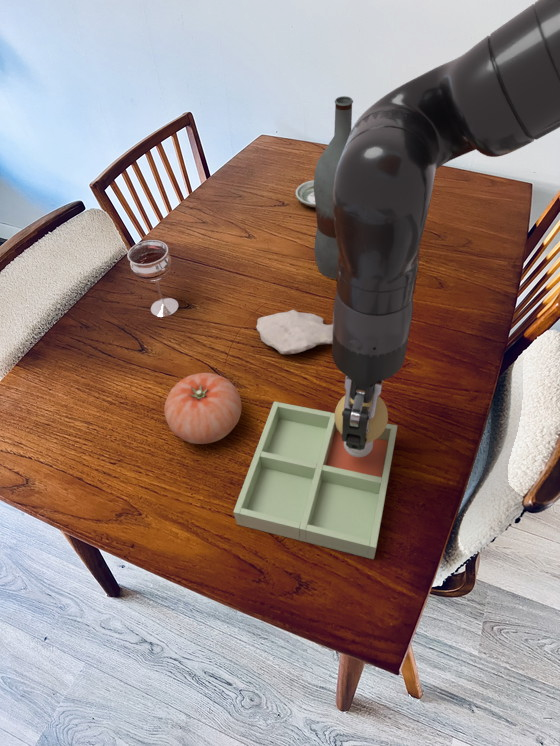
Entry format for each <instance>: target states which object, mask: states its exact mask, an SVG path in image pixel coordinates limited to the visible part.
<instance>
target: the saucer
mask: <svg viewBox="0 0 560 746" xmlns="http://www.w3.org/2000/svg"><path fill="white" fill-rule="evenodd" d="M313 185H314V179H312V180H308V181H305V182H303V183H301V184H300V185H298V187H296V190H295V197H296V200H298V201H299V202H300V203H302V204H303V205H305V206H308V207H310V208H311V207H312V208H316V205H315V196H314V189H313Z"/></svg>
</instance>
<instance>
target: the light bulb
mask: <svg viewBox="0 0 560 746" xmlns="http://www.w3.org/2000/svg"><path fill="white" fill-rule="evenodd" d="M372 398H373V397H372ZM344 403H345V395H343V396H342V398H341V399H339V401H338V403H337V405H336V407H335V410H334V413H335V415H334V417H335V424H336V427H337V429H338V430H339V432H340V433H341V434H342V426H343V416H342V412H343V411H344ZM351 403H352V404H353V403H354V400H352V399H351ZM371 405H372V400H371V401H370V402H369V403H363V406H365V407H370V406H371ZM388 421H389V412H388V408H387V404H386V403H385V402H384V400H383V399H382V398H381V397H380V395H379V396H378V400H377V406H376V411H375V415H374V417H373V418H372V419H370V420H369V426H368V428H369V433H368V432H367V436H366V438H367V441H366V444H365V448H364V449H363V450H356V449H351V448H348V446H346V442H344V448H345V450H346V451H347V453H349V454H350V455H352V456H354V457H364V456H366V455H368V454H369V453H370V452H371V450H372V448H373V441H374V440H375V439H377V438H378V437H379V436H380V435H381V434H382V433H383V432H384V430H385V428H386V425H387V424H388Z"/></svg>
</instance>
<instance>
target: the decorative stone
mask: <svg viewBox="0 0 560 746" xmlns="http://www.w3.org/2000/svg"><path fill="white" fill-rule="evenodd" d="M255 329H256V330H257V332H258V333H259V336H260V341H261V342H263V343H264V345H267V346H269V347H271V348H274V349H275V350H277V352H278V353H280V355H293V354H294V355H295V354H299V353H301V352H305V351H307V350H311V349H314V348H315V347H316V346H322V345H332V339H333V323H332V324H326V323H324V318H323V317H321V316H319V315H316V314H315V313H310V312H299V311H297V310H295V309H291V310H289V311H284V312H276V313H274V314H269V315H264V316H262V317H261V316H260V317H258V318H257V323H256V326H255Z"/></svg>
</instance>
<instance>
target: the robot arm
mask: <svg viewBox="0 0 560 746" xmlns="http://www.w3.org/2000/svg"><path fill="white" fill-rule="evenodd" d="M559 128H560V0H537V1H535V2H534V3H532V4H531V5H530V6H528V7H526V8H525V9H523V10H522V11H520V12H519V13H518V14H516V15H515V16H514V17H512V18H511V19H509V20H508V21H506V22H505V23H504V24H502V25H501V26H499V27H498V28H497V29H495V30H494V31H492V32H491V33H490V35H487V36H486V37H484V38H483V39H482V40H480V41H479V42H478V43H476V44H475V45H474V46H472V47H471V48H470V49H469V50H468V51H466V52H464V53H463V54H461V55H460V56H458V57H456V58H454V59H452V60H450V61H448V62H445V63H443V64H441V65H437V66H436V67H434V68H432V69H430V70H429V71H427V72H424V73H422V74H421V75H419V76H417V77H414V78H413V79H411V80H409V81H407V82H406V83H403V84H402V85H400V86H398V87H396V88H394V89H393V90H391V91H389V92H387V93H386V94H385V95H383V96H382V97H381V98H379V99H378V100H377V101H376V102H374V103H373V104H372V105H371V106H370V107H368V108H367V109H366V110H365V111H364V112H363V113H361V116H359V117H358V118H357V120H356V121H355V123H354V124H353V125H352V127H351V132H350V135H349V137H348V140H347V143H346V145H345V148H344V150H343V152H342V155H341V157H340V160H339V163H338V165H337V169H336V173H335V178H334V186H333V219H334V227H335V233H336V240H337V246H338V249H339V253H338V263H337V279H336V290H335V296H334V301H333V306H332V307H333V309H332V324H333V339H332V344H331V345H332V346H331V356H332V361H333V363H334V365H335V367H336V368H337V369H338V370H339V371H340V372H341V373H342V374H343V375H344V376H345V379H344V386H343V387H344V390H345V395H344V396H345V403H344V411H343V412H342V416H343V426H342V437H341V438H342V441H344V442H346V446H348V448H351V449H356V450H363V449H364V448H365V444H366V441H367V438H366V436H367V432H368V433H369V428H368V426H369V420H370V419H372V418H373V417H374V415H375V411H376V406H377V400H378V396H379V397H380V395H381V393H382V389H383V383H384V381H385V380H387V379H389V378H392V377H393V376H395V375H396V374H397V373H398V372H399V371H400V370H401V368H402V367H403V365H404V363H405V359H406V353H407V347H408V342H409V337H410V333H411V332H410V331H411V326H412V321H413V315H414V294H415V289H416V284H417V277H418V271H419V266H420V265H419V264H420V246H421V243H422V239H423V235H424V232H425V231H424V230H425V227H426V222H427V219H428V213H429V210H430V205H431V200H432V195H433V192H434V191H433V190H434V184H435V180H436V179H435V178H436V173H437V170H438V169H439V168H440V167H442V166H443V165H445V164H447V163H448V162H450V161H452V160H454V159H457V158H459V157H462V156H464V155H466V154H469V153H471V152H473V151H475V150H476V151H478V153H480V154H482V155H483V156H485V157H491V158H498V157H502V156H506V155H508V154H511V153H513V152H515V151H518V150H520V149H522V148H524V147H526V146H528V145H530V144H532V143H533V142H535V140H536V141H537V140H539V139H541V138H543V137H545V136H547V135H548V134H550V133H552V132H554V131H556V130H558V129H559ZM372 397H373V398H372ZM351 399H352V400H354V403H353V404H352V403H351ZM371 400H372V405H371V406H370V407H365V406H363V403H369V402H370V401H371Z"/></svg>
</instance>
